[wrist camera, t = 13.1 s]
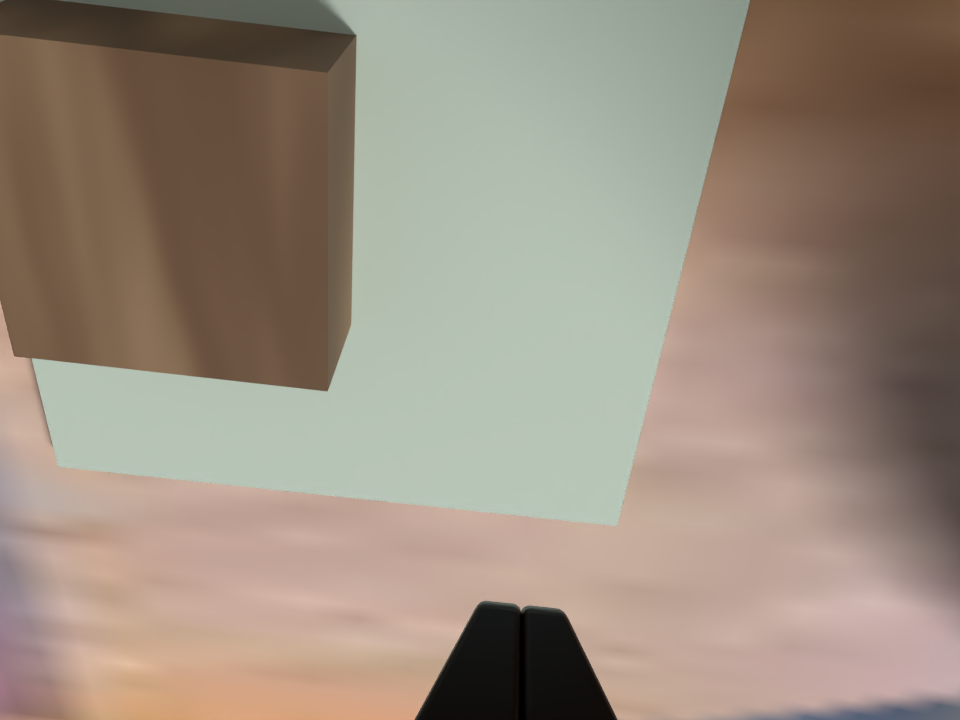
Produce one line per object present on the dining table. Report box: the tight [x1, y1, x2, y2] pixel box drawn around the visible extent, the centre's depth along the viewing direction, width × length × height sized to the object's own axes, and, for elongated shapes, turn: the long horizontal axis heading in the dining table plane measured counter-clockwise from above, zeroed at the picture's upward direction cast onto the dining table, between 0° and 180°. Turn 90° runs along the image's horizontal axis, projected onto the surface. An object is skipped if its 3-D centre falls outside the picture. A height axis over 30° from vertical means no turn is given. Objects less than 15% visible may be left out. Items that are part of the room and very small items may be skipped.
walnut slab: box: [0, 0, 357, 392], centre depth 15 cm, size 2×6×6 cm
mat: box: [0, 0, 750, 526], centre depth 17 cm, size 14×16×1 cm
